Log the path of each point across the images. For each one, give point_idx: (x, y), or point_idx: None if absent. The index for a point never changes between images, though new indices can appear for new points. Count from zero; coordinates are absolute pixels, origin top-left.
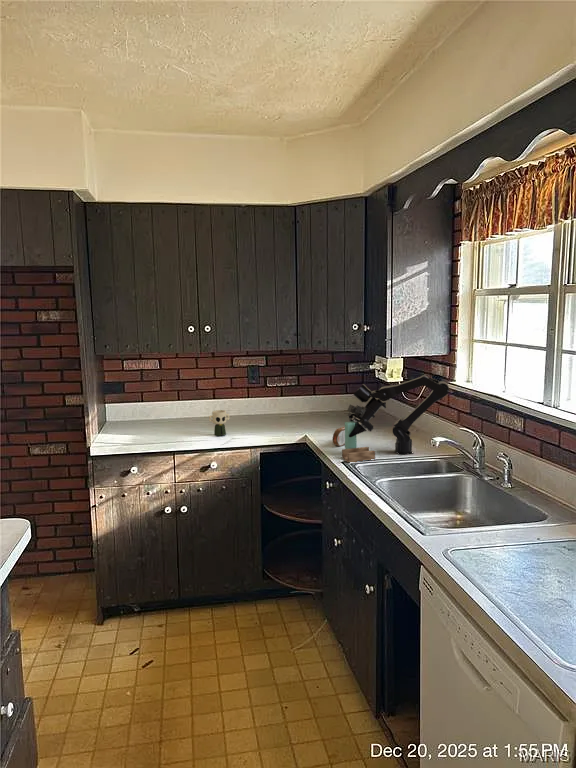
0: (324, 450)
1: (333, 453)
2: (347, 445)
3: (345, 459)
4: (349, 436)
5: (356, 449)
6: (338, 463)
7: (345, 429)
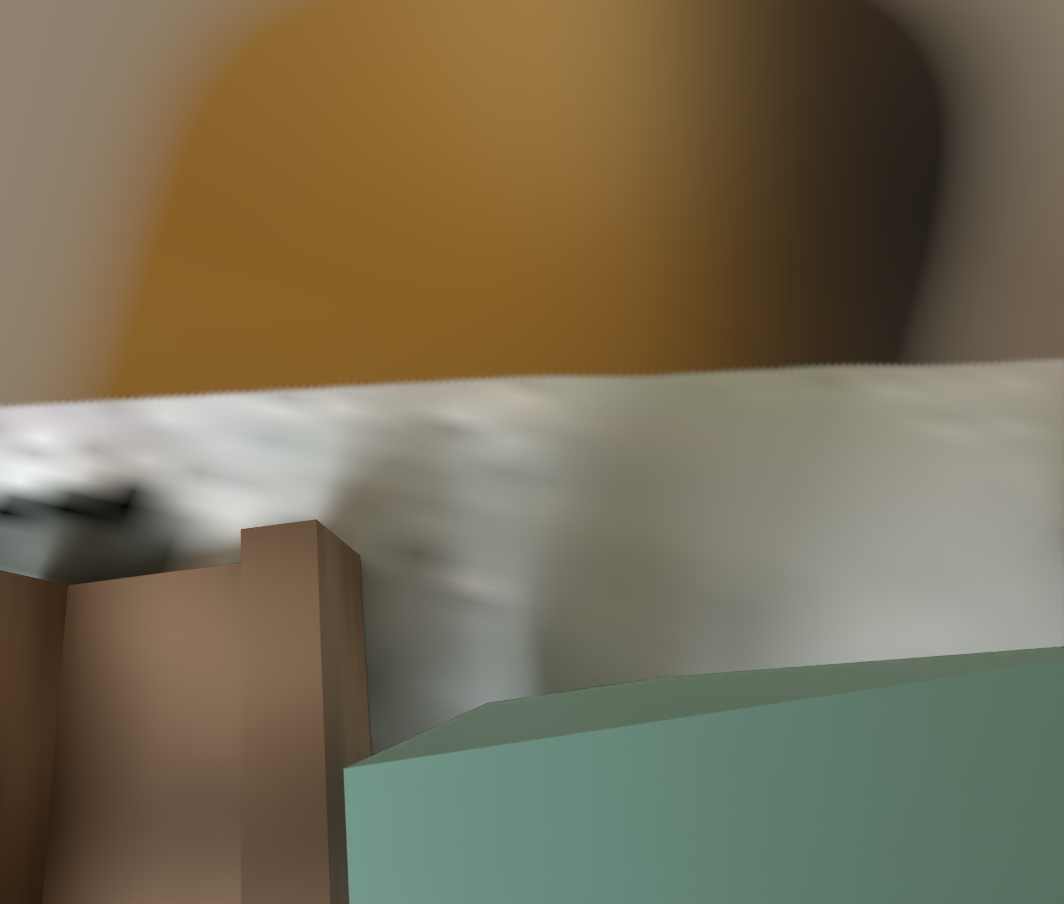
0: (884, 376)
1: (683, 476)
2: (530, 699)
3: (188, 574)
4: None
5: (250, 874)
6: (94, 435)
7: (790, 675)
